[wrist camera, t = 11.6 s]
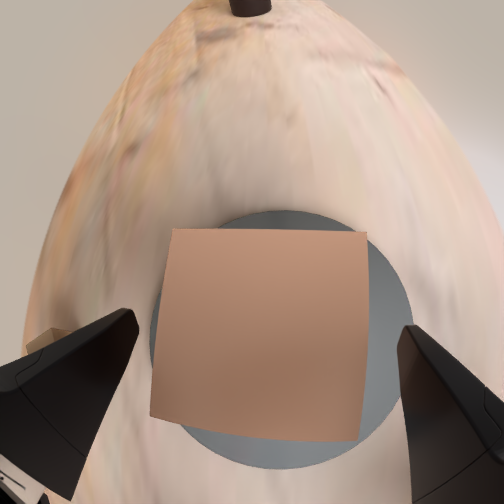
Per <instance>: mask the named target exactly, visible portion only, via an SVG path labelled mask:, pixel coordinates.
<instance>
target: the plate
mask: <svg viewBox="0 0 504 504" xmlns="http://www.w3.org/2000/svg"><path fill="white" fill-rule="evenodd" d="M217 229H280V230H321V231H352V232H356V231H354V230H353V229H351V228H350V227H348V226H346V225H344V224H342V223H340V222H337V221H335V220H333V219H330V218H327V217H324V216H321V215H317V214H312V213H307V212H301V211H287V210H284V211H268V212H262V213H256V214H252V215H248V216H245V217H242V218H238V219H236V220H234V221H231V222H229V223H227V224H224V225H222V226H221V227H219V228H217ZM367 246H368V268H369V331H368V353H367V368H366V380H365V390H364V399H363V408H362V415H361V422H360V429H359V436H358V441H341V442H309V441H287V440H273V439H263V438H254V437H246V436H238V435H232V434H225V433H220V432H214V431H209V430H204V429H199V428H194V427H190V426H185V425H181V424H180V425H181V426H182V427H183V428H184V429H185V430H186V431H187V432H188V433H189V434H190V435H191V436H192V437H194V438H195V439H196V440H197V441H198V442H199V443H201V444H202V445H204V446H205V447H207V448H208V449H210V450H211V451H213V452H215V453H216V454H219V455H221V456H223V457H225V458H227V459H229V460H232V461H235V462H238V463H241V464H244V465H248V466H253V467H258V468H265V469H293V468H302V467H307V466H311V465H315V464H319V463H322V462H325V461H327V460H330V459H332V458H335V457H337V456H339V455H341V454H343V453H345V452H346V451H348V450H350V449H352V448H354V447H355V446H356V445H358V444H359V443H360V442H362V441H363V440H364V439H366V438H367V437H368V436H369V435H370V434H371V433H372V432H373V431H374V430H375V429H376V428H377V427H378V426H379V425H380V424H381V423H382V422H383V421H384V420H385V418H386V417H387V416H388V414H389V413H390V412H391V410H392V409H393V407H394V406H395V404H396V402H397V400H398V399H399V397H400V395H401V393H400V382H399V369H398V359H397V344H398V341H399V338H400V335H401V332H402V329H403V327H404V326H405V325H414V324H413V318H412V312H411V307H410V304H409V301H408V298H407V295H406V292H405V289H404V287H403V285H402V283H401V281H400V279H399V277H398V275H397V273H396V272H395V270H394V269H393V267H392V266H391V264H390V263H389V261H388V260H387V259H386V258H385V257H384V255H383V254H382V253H381V252H380V251H379V250H378V249H377V248H376V247H375V246H374V245H373V244H372V243H371V242H369V241H368V240H367ZM161 294H162V289H161V291H160V293H159V296H158V299H157V302H156V305H155V308H154V311H153V316H152V322H151V327H150V356H151V363H152V368H153V361H154V350H155V341H156V332H157V324H158V316H159V308H160V301H161Z"/></svg>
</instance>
